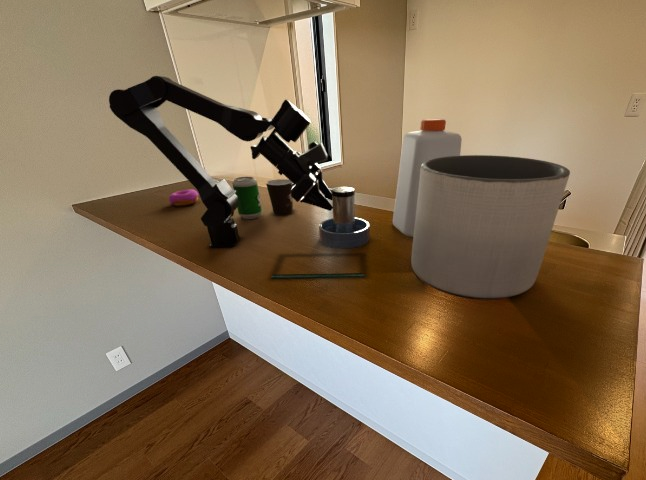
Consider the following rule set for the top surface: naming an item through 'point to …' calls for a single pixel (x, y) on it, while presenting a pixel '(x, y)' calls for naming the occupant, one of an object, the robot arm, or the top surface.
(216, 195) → the robot arm
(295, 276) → the mat
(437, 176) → the planter
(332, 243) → the blue bowl
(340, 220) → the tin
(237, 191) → the soda can
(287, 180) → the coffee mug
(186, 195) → the donut
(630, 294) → the top surface
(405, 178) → the plastic bottle
